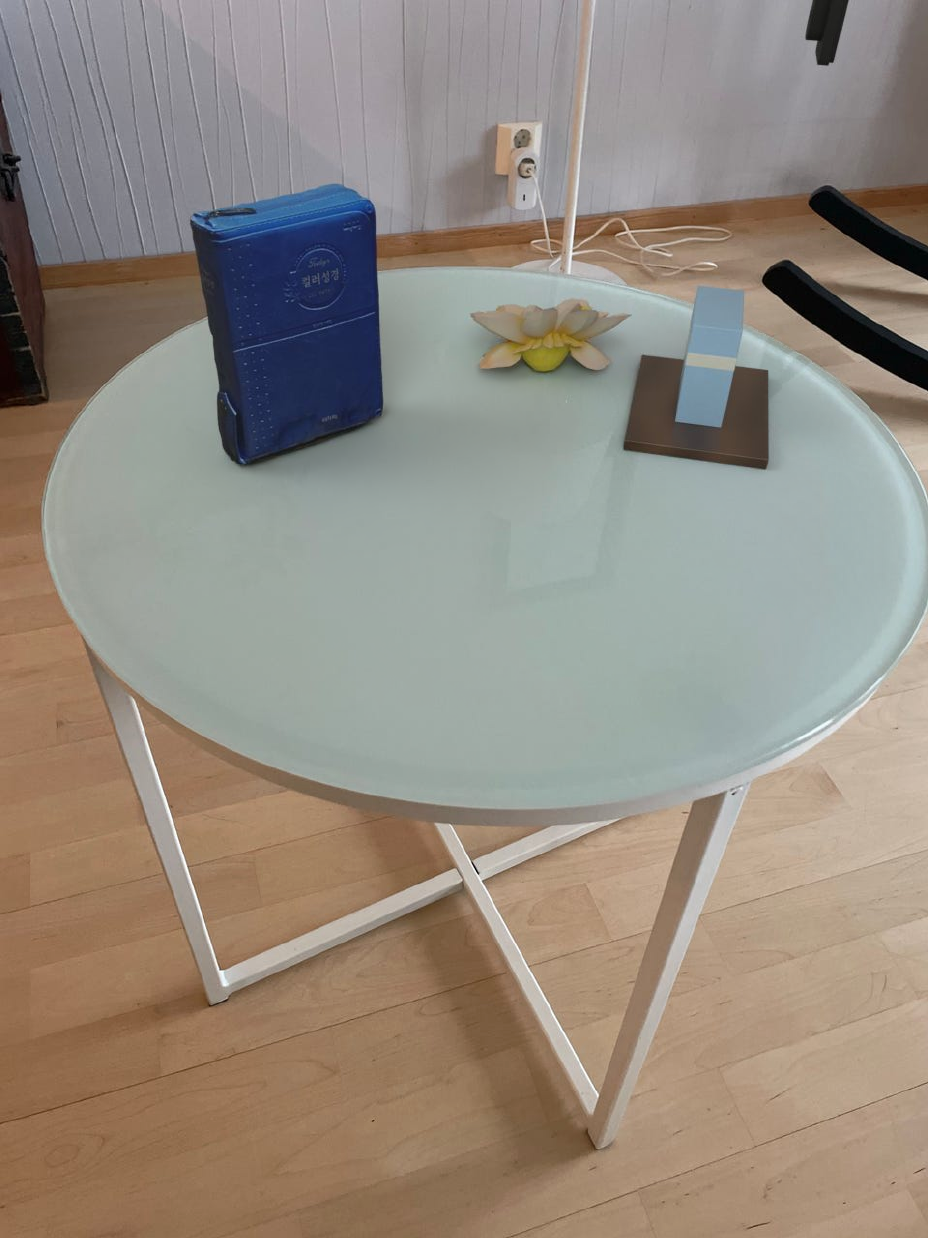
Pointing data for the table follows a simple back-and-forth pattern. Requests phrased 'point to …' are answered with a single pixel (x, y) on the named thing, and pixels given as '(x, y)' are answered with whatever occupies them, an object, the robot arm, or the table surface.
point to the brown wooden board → (729, 444)
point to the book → (292, 318)
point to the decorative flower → (546, 334)
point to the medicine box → (710, 356)
